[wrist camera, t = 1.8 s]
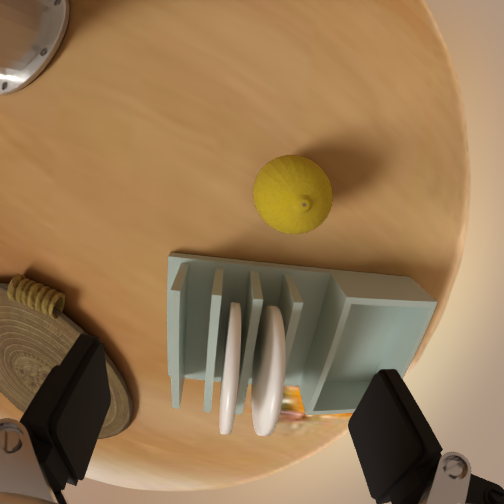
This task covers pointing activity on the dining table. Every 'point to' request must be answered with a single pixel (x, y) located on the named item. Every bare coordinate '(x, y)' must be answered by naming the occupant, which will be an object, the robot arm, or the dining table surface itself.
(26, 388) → the decorative disc
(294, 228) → the lemon
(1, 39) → the robot arm
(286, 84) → the dining table surface
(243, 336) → the dish rack
